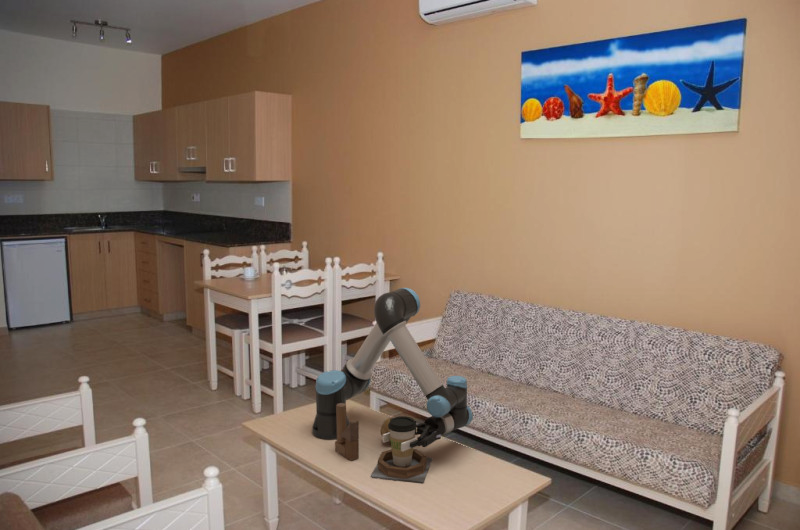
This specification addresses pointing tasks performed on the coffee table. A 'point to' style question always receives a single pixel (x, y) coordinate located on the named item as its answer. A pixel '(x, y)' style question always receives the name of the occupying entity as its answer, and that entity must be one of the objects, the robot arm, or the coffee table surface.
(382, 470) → the cup collar
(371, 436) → the coffee table surface
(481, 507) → the coffee table surface
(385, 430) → the brown round lump
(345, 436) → the wooden block
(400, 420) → the coffee cup
